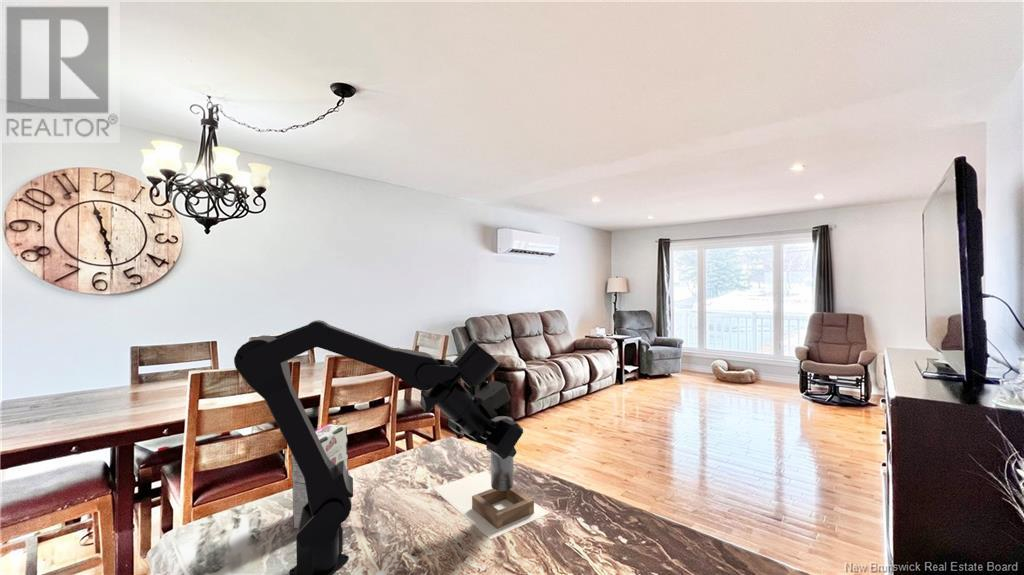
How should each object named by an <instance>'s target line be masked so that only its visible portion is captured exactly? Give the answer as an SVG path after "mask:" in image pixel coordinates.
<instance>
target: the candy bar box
mask: <svg viewBox="0 0 1024 575" xmlns="http://www.w3.org/2000/svg"><path fill="white" fill-rule="evenodd" d="M315 432H316V434H317V436H318V438H319V440H320V443H321V445H322V447H323V449H324V451H325V453H326V455H327V457H328V458H329V459H330V460H331V461H332V462H333V463H334V464H335V465H337V464H338V463H339V462H341V461H342V460H344V463H345V467H346V470H347V473H348V474H349V466H348V465H349V464H348V463H349V462H348V461H349V460H348V456H349V455H348V453H349V452H348V425H347V424H338V423H336V424H335V423H327V424H326V425H324V426H322V427H320V428H317V429H316V430H315ZM291 477H292V478H291V480H292V481H291V482H292V484H291V486H292V514H293V515H292V520H293V522H292V523H293V529H296V530H298V527H299V522H300V517H301V512H302V508H303V507H304V506H305V505H306V503H307V502H308V498H307V492H306V486H305V480H304V476H303V474H302V472H301V470H300V468H299V466H298V464H297V462H296V460H295V458H294V456H293V455H292V454H291Z"/></svg>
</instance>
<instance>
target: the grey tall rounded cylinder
mask: <svg viewBox="0 0 1024 575" xmlns="http://www.w3.org/2000/svg"><path fill="white" fill-rule="evenodd" d="M502 419H509V420H511V421H513V422H514V418H512V417H510V416H504V415H501V416H495V418H494V419H492V421H494V422H497V421H499V420H502ZM493 428H494V427H493ZM490 474H491V487H492V488H493V489H495V490H498V491H505V490H509V489H511V488H512V487H514V457H511V456H508V457H507V458H505V459H501V458H500V457H498V456H496V455H495V454H493V453H491V452H490Z"/></svg>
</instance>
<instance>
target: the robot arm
mask: <svg viewBox="0 0 1024 575" xmlns="http://www.w3.org/2000/svg"><path fill="white" fill-rule="evenodd" d="M315 348H319V349H323V350H325V351H329V352H331V353H334V354H337V355H339V356H343V357H346V358H349V359H352V360H355V361H357V362H360V363H364V364H366V365H369V366H372V367H375V368H377V369H381V370H384V371H387V373H390V374H392V375H393V376H394V377H396V378H398V379H399V380H401V381H402V382H404V383H406V384H407V385H409V386H411V387H413V388H415V389H417V390H419V391H426V392H421V393H420V400H419V405H420V407H421V409H423V411H424V413H426V414H428V413H430V412H431V410H432V409H433V408H434V407H435V406H436V407H437V408H438V409H439V411H441V412H442V413H443V414H444V415H445V416H446V418H447V420H448V421H447V425H448V426H447V427H449V428H450V429H451V430H452V431H454V433H456V434H459V435H461V434H462V433H463V438H465V439H467V440H469V441H471V442H474V443H478V444H481V445H485V446H486V451H488V452H489V453H490V454H491V453H493V454H495V455H496V456H498V457H500V458H501V459H505V458H507V457H508V456H511V457H513V458H514V457H515V456H516V455H517V450H516V448H515V446H516V444H517V443H518V442H519V439H520V438H521V436H522V435H523V433H524V428H523V427H522V426H520V425H519V423H518V422H515V421H514V420H513V421H511V420H509V419H502V420H499V421H497V422H494V421H492V419H494V418H495V417H497V415H498V413H497V412H496V410H497V409H499V408H500V407H502V406H503V405H505V403H508V402H510V400H511V395H510V392H509V390H508V388H507V385H506V384H505V383H503V382H500V381H497V380H493V381H492V380H489V381H487V379H488V377H489V376H490V375H491V374H492V373H493V372H494V371H495V370H496V369H497V368H498V366H499V365H500V364H499V362H498V361H497V359H496V358H495V357H494V356H493V355H492V354H490V353H489V352H487V351H486V350H485V349H484V348H482V347H481V346H480V345H479V344H478V343H477V342H475V341H473V340H471V341H470V342H468V343H467V345H466V347H465V348H464V349H463V350H462V352H461V353H459V354H458V356H456V358H455V359H454V360H453V361H452V360H450V359H447V358H446V359H441V358H435V357H433V356H432V355H431V354H430V353H427V352H425V351H419V350H414V349H405V348H399V347H393V346H388V345H387V344H383V343H380V342H378V341H375V340H372V339H369V338H367V337H364V336H362V335H359V334H355V333H352V332H351V331H349V330H348V331H347V330H345V329H342V328H339V327H336V326H333V325H331V324H329V323H327V322H326V321H324V320H319V319H317V320H313V321H311V322H309V323H308V324H305V325H303V326H300V327H298V328H295V329H292V330H289V331H287V332H284V333H281V334H279V335H276V336H272V335H266V334H265V335H259V336H256V337H254V338H252V339H251V340H248V341H247V342H246V343H244V344H242V345H241V346H240V347H239V348H238V349H237V351H236V353H235V356H234V357H233V359H234V360H233V361H234V362H233V363H234V367H235V369H236V370H237V372H238V374H240V376H241V377H242V379H243V380H244V381H245V382H246V383H247V384H248V386H249V387H250V388H251V389H252V390H253V391H254V392H255V393H257V395H258V396H260V397H261V398H263V400H264V401H265V403H266V405H267V407H268V408H269V411H270V413H271V415H272V416H273V419H274V421H275V422H276V425H277V426H278V429H279V430H280V432H281V435H282V437H283V439H284V440H285V442H286V444H287V447H288V448H289V450H290V452H291V456H292V455H293V456H294V458H295V460H296V462H297V464H298V466H299V468H300V470H301V472H302V474H303V476H304V480H305V486H306V492H307V498H308V502H307V503H306V505H305V506H304V507H303V508H302V512H301V517H300V522H299V527H298V529H297V532H296V539H295V541H296V545H295V547H296V550H295V551H296V553H295V554H296V555H295V556H296V565H295V566H293V567H292V568H291V569H290V570H289V571H288V574H289V575H332V574H334V573H335V572H337V570H339V569H340V568H341V567H342V566H343V565H345V564H346V563H347V562H348V561H349V559H350V556H349V555H348V554H343V551H344V548H343V547H344V545H343V544H344V543H343V542H344V539H343V536H344V534H343V527H342V523H343V522H346V520H347V519H348V517H349V516H350V514H351V511H352V498H353V497H354V477H352V475H350V474H349V472H348V473H347V470H346V467H345V463H344V460H342V461H341V462H339V463H338V464H337V465H335V464H334V463H333V462H332V461H331V460H330V459H329V458H328V457H327V455H326V453H325V451H324V449H323V447H322V445H321V443H320V440H319V438H318V436H317V434H316V432H315V431H316V430H315V428H314V426H313V424H312V422H311V419H310V418H309V416H308V414H307V412H306V410H305V408H304V406H303V404H302V401H301V400H300V398H299V396H298V394H297V392H296V389H295V387H294V386H293V381H292V376H291V368H290V365H289V360H291V359H293V358H295V357H298V356H300V355H301V354H304V353H306V352H308V351H311V350H312V349H315ZM459 380H462V382H464V383H465V385H466V386H468V387H469V388H470V389H471V388H472V387H474V393H475V394H474V395H473V394H471V392H470V391H469V390H467V388H466V387H464V386H463V384H462V383H460V382H459ZM493 427H494V428H493Z"/></svg>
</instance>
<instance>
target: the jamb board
mask: <svg viewBox="0 0 1024 575" xmlns="http://www.w3.org/2000/svg"><path fill="white" fill-rule="evenodd" d="M490 489H493V488H492V487H491V472H489V471H487V470H484V471H480V472H478V473H474V474H472V475H469V476H466V477H463V478H459V479H456V480H454V481H450V482H446V483H444V484H441V485H439V486H435V487H432V490H433V491H435V492H436V493H437V494H438V495H439V496H440V497H442V498H443V499H444V500H445V501H446V502H447V503H449V504H450V505H451V507H453V508H454V509H456V510H457V512H459V513H460V514H461V515H462V516H463V517H464V518H466V520H468V521H469V522H470V523H471V524H472V525H473V526H474V527H476V529H478V530H479V531H480V532H482V534H484V535H485V536H486V537H487V538H488V539H489V540H492V539H493V540H494V539H495V538H497V537H499V536H502V535H504V534H506V533H508V532H511V531H513V530H515V529H518V528H521V526H524V525H526V524H528V523H531V522H533V521H535V520H537V519H539V518H542V517H544V516H547V515H549V514H550V511H548V510H546V509H545V508H543V507H541V506H540V505H539V504H538V503H536V502H534V513H533V514H531V515H528V516H526V517H524V518H521V519H519V520H517V521H514V522H512V523H510V524H508V525H505V526H503V527H501V528H498V529H496V528H495V527H494V526H493V525H492V524H490V523H489V522H488V521H487V520H486V519H484V518H483V517H482V516H481V515H480V514H478V513H477V512H476V511H475V510H473V509H472V496H473V495H476V494H479V493H482V492H484V491H487V490H490ZM511 505H513V503H511V502H510V501H508V500H507V499H505V500H502V501H500V502H497V503H495V504H492V506H493V507H495V508H496V509H497V510H501V509H504V508H506V507H509V506H511Z"/></svg>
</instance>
